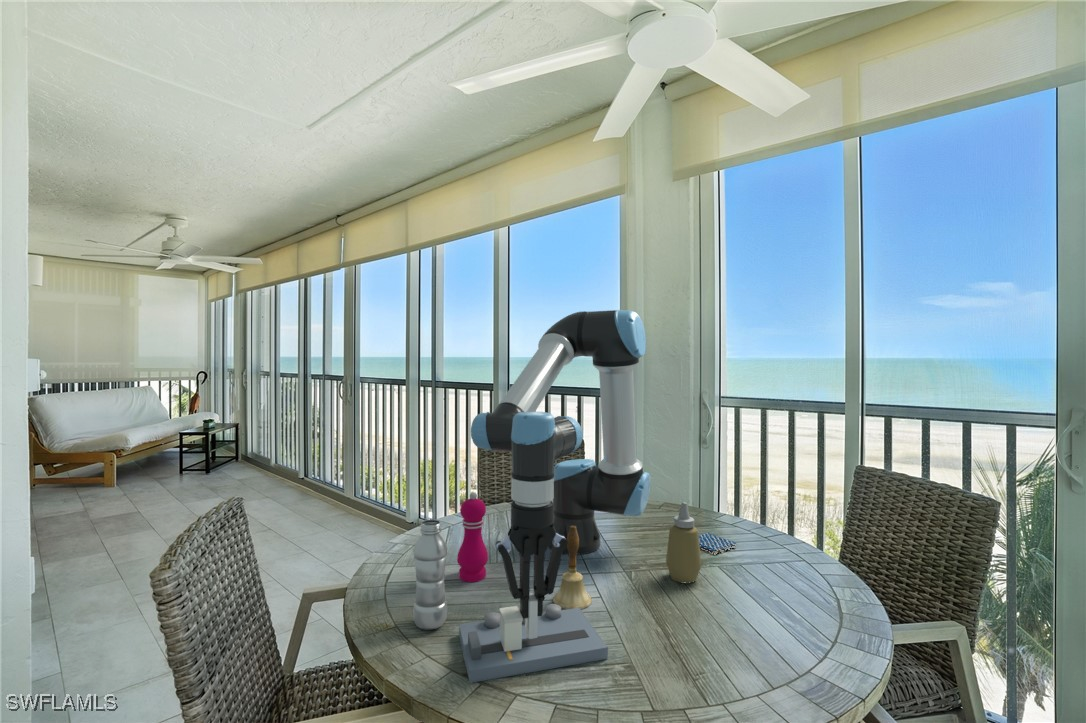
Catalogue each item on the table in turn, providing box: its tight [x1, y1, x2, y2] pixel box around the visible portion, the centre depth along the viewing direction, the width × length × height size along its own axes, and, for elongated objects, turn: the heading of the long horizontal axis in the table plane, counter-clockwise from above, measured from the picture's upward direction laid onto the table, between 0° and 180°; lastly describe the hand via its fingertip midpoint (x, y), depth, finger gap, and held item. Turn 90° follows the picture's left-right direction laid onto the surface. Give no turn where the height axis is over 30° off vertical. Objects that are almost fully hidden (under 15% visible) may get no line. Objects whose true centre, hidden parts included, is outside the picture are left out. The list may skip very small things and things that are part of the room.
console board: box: [458, 603, 609, 684], centre depth 89 cm, size 24×14×4 cm, turn 106°
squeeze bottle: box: [665, 501, 702, 584], centre depth 118 cm, size 8×8×18 cm
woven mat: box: [699, 532, 738, 555], centre depth 138 cm, size 10×11×2 cm
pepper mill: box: [456, 491, 489, 583], centre depth 117 cm, size 7×7×20 cm
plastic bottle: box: [412, 519, 448, 631], centre depth 96 cm, size 6×7×20 cm
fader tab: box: [498, 605, 523, 652], centre depth 86 cm, size 3×4×5 cm
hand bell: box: [552, 526, 593, 610], centre depth 106 cm, size 8×8×16 cm
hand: (531, 634), depth 87 cm, fingers closed
